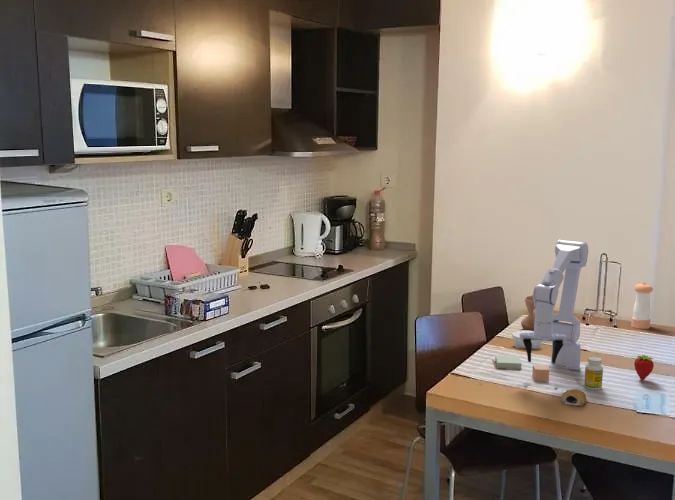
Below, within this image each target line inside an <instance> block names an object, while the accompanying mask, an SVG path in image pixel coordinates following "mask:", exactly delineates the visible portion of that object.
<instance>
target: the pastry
mask: <svg viewBox="0 0 675 500" xmlns="http://www.w3.org/2000/svg"><path fill="white" fill-rule="evenodd" d="M560 401H561V403H562V404H565V405H567V406H574V407H582V406H585V404H586V401H587V395H586V393H585V391H581V390H579V389H567V390H565V392H563V393H562V396H561V398H560Z"/></svg>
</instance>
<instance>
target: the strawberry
mask: <svg viewBox="0 0 675 500" xmlns="http://www.w3.org/2000/svg"><path fill="white" fill-rule="evenodd" d="M653 360H655V358H653V357H650V356H649V355H645V354H642V355H636V358H635V360H634V363H633V365H634V370H635V372H636V374H637V376H638V378H639V379H640V380H641V381H645V379H646V378H648V377H649V375H650V374H651V373H652V372H653V370H654V366H655V365H654V361H653Z"/></svg>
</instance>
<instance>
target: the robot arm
mask: <svg viewBox="0 0 675 500" xmlns="http://www.w3.org/2000/svg"><path fill="white" fill-rule="evenodd" d="M554 253H555V261H554V262H553V266H552V268H549V269H547V270H546V273H545V274H544V276H543V278H542V280H541V282H540V284H537V285H535V286H534V289H533V293H532V295H533V300H534V307H535V323H534V332H531V333H520V337H519V338H520V340H523V342H524V345H525V348H524V349H525V351H526V354H527V355H526V357H527V362H528V363H532V349H533V348H532V343H531V340H542V341H545V342H546V341H548V342H551V355H550V356H551V357H550V363H551V364H552V365H556V366H561V367H567V369H568V370H575V371H578V370H581V353H582V349H581V348H582V347H581V344H580V342H579V339H580V336H581V335H580V334H581V322H580V320H579V319H578V318H577V317H576V315H574V312H575V303H576V299H577V292H578V287H579V279H580V274H581V270H582V268H584V267H586V266H587V262H588V257H589V255H588V254H589V246H588V243H587V242H585V241H583V242H581V241H575V240H574V241H572V240H563V239H558V240H557V242H556V244H555V247H554ZM562 283H563V285H562V291H561V297H560V302H559V308H558V309H559V310H558V312H557V313H554V312H555V311H554V310H555V307H554V304H555V305H556V303H555V302H557V300H558V296H559V292H560V291H559V288H560V286H561V284H562Z"/></svg>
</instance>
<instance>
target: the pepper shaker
mask: <svg viewBox="0 0 675 500" xmlns="http://www.w3.org/2000/svg"><path fill="white" fill-rule="evenodd" d="M634 290H635V301H634V305H633V308H632V317H631V324H630V326H631V327H632V328H636V329H639V330H647V329H650V328H651V317H650V316H651V303H650V302H651V301H650V300H651V293H652V292H653V290H654V289H653V287H652V285H650V284H648V283H647V282H645V281H642V282H641V283H637V284H635V286H634Z"/></svg>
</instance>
